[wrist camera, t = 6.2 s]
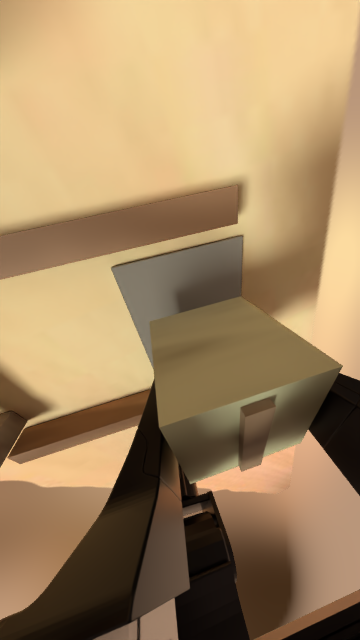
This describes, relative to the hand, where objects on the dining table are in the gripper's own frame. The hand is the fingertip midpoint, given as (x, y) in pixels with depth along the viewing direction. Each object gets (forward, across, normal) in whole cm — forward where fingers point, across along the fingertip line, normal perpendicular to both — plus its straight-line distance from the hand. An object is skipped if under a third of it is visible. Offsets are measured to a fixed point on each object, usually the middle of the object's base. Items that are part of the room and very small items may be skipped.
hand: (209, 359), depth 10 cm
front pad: (+4, 0, 0) cm, 5 cm away
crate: (+2, 0, 0) cm, 2 cm away
